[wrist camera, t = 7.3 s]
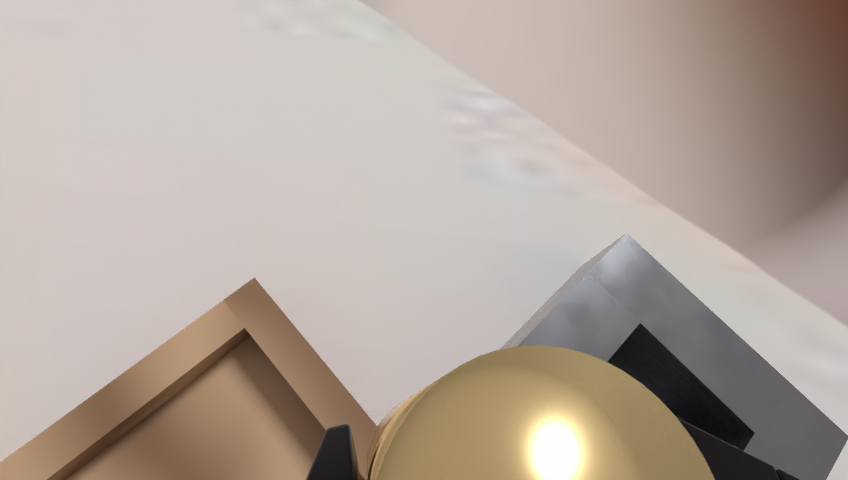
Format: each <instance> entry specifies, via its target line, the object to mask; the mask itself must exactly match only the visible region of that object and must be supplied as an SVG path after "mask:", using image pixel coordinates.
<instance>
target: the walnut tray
mask: <svg viewBox="0 0 848 480" xmlns="http://www.w3.org/2000/svg"><path fill="white" fill-rule="evenodd" d="M344 423H349V424H350V426H351V430H352V435H353V440H354V445H355V450H356V455H357V461H358V467H359V474H360V480H366V469H367V455H368V450H369V446H370V442H371V440H372V437H373V434H374V433H375V431H376V429H377V426H376V425H375V423H374V422H373V421H372V420H371V419H370V417H369V416H368V415H367V414H366V413H365V411H364V410H363V409H362V408H361V406H360V405H359V404H358V403H357V402H356V400H355V399H354V398H353V397H352V396H351V394H350V393H349V392H348V391H347V389H346V388H345V387H344V386H343V385H342V383H341V382H340V381H339V380H338V379H337V377H336V376H335V375H334V374H333V372H332V371H331V370H330V369H329V368H328V366H327V365H326V364H325V363H324V362H323V360H322V359H321V358H320V357H319V355H318V354H317V353H316V352H315V351H314V349H313V348H312V347H311V346H310V345H309V343H308V342H307V341H306V340H305V338H304V337H303V336H302V335H301V334H300V332H299V331H298V330H297V329H296V328H295V326H294V325H293V324H292V323H291V321H290V320H289V319H288V318H287V317H286V315H285V314H284V313H283V312H282V311H281V309H280V308H279V307H278V306H277V304H276V303H275V302H274V301H273V300H272V298H271V297H270V296H269V295H268V294H267V292H266V291H265V290H264V289H263V287H262V286H261V285H260V284H259V283H258V281H257V280H256V279H255V278H253V279H252V280H250V281H249V282H248V283H246V284H245V285H244V286H242V287H241V288H239V289H238V290H237V291H235V292H234V293H233V294H231V295H230V296H228V297H227V298H226V299H224V300H223V301H222V302H220V303H219V304H217V305H216V306H215V307H213V308H212V309H211V310H209V311H208V312H206V313H205V314H204V315H202V316H201V317H200V318H198V319H197V320H196V321H194V322H193V323H191V324H190V325H189V326H187V327H186V328H185V329H183V330H182V331H180V332H179V333H178V334H176V335H175V336H174V337H172V338H171V339H169V340H168V341H167V342H165V343H164V344H163V345H161V346H160V347H158V348H157V349H156V350H154V351H153V352H152V353H150V354H149V355H147V356H146V357H145V358H143V359H142V360H141V361H139V362H138V363H136V364H135V365H134V366H132V367H131V368H130V369H128V370H127V371H125V372H124V373H123V374H121V375H120V376H119V377H117V378H116V379H114V380H113V381H112V382H110V383H109V384H108V385H106V386H105V387H103V388H102V389H101V390H99V391H98V392H97V393H95V394H94V395H93V396H91V397H90V398H88V399H87V400H86V401H84V402H83V403H82V404H80V405H79V406H77V407H76V408H75V409H73V410H72V411H71V412H69V413H68V414H66V415H65V416H64V417H62V418H61V419H60V420H58V421H57V422H55V423H54V424H53V425H51V426H50V427H49V428H47V429H46V430H44V431H43V432H42V433H40V434H39V435H38V436H36V437H35V438H33V439H32V440H31V441H29V442H28V443H27V444H25V445H24V446H22V447H21V448H20V449H18V450H17V451H16V452H14V453H13V454H11V455H10V456H9V457H7V458H6V459H5V460H3V461H2V462H0V480H306V478H307V475H308V473H309V470H310V468H311V466H312V463H313V461H314V458H315V456H316V453H317V451H318V448H319V446H320V444H321V441H322V439H323V436H324V434H325V432H326V430H327V429H328V428H329V427H332V426H336V425H340V424H344Z"/></svg>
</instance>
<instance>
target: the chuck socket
mask: <svg viewBox="0 0 848 480" xmlns="http://www.w3.org/2000/svg"><path fill="white" fill-rule="evenodd" d="M532 345H544V346H554V347H563V348H567V349H571V350H575V351H579V352H583V353H586V354H588V355H591V356H594V357H596V358H599V359H602V360H604V361H606V362H608V363H609V364H611V365H613V366H615V367H617V368H619V369H621V370H623V371H624V372H626V373H627V374H628V375H630V376H631V377H633V378H634V379H636V380H637V381H639V382H640V383H642V384H643V385H644V386H645V387H646V388H647V389H649V390H650V391H651V392H652V393H653V394H654V395H655V396H657V397H658V398H659V399H660V400H661V401H662V402H663V403H664V404H665V405H666V406H667V408H668V409H669V410H670V411H671V412H672V413H673V414H674V415H675V416H676V417H677V418H679V419H681V420H683V421H685V422H686V423H688V424H690V425H692V426H694V427H696V428H698V429H700V430H702V431H704V432H706V433H708V434H710V435H712V436H714V437H716V438H718V439H720V440H722V441H724V442H726V443H728V444H730V445H732V446H734V447H736V448H738V449H740V450H742V451H744V452H746V453H748V454H750V455H752V456H754V457H756V458H758V459H760V460H762V461H764V462H766V463H768V464H770V465H772V466H773V467H774V468H775V470H776V469H781V470H783V471H785V472H787V473H789V474H791V475H793V476H795V477H797V478H799V479H801V480H826V479H827V477H828V475H829V473H830V471H831V469H832V468H833V466H834V464H835V462H836V460H837V458H838V456H839V454H840V453H841V451H842V449H843V447H844V445H845V443H846V441H847V440H848V436H847V435H846V434H845V433H844V432H843V431H842V430H841V429H840V428H839V427H838V426H837V425H835V424H834V423H833V422H832V421H831V420H830V419H829V418H828V417H827V416H826V415H825V414H823V413H822V412H821V411H820V410H819V409H818V408H817V407H816V406H815V405H814V404H813V403H811V402H810V401H809V400H808V399H807V398H806V397H805V396H804V395H803V394H802V393H801V392H799V391H798V390H797V389H796V388H795V387H794V386H793V385H792V384H791V383H790V382H789V381H787V380H786V379H785V378H784V377H783V376H782V375H781V374H780V373H779V372H778V371H777V370H775V369H774V368H773V367H772V366H771V365H770V364H769V363H768V362H767V361H766V360H765V359H763V358H762V357H761V356H760V355H759V354H758V353H757V352H756V351H755V350H754V349H752V348H751V347H750V346H749V345H748V344H747V343H746V342H745V341H744V340H743V339H742V338H740V337H739V336H738V335H737V334H736V333H735V332H734V331H733V330H732V329H731V328H730V327H728V326H727V325H726V324H725V323H724V322H723V321H722V320H721V319H720V318H719V317H718V316H716V315H715V314H714V313H713V312H712V311H711V310H710V309H709V308H708V307H707V306H706V305H704V304H703V303H702V302H701V301H700V300H699V299H698V298H697V297H696V296H695V295H694V294H692V293H691V292H690V291H689V290H688V289H687V288H686V287H685V286H684V285H683V284H682V283H680V282H679V281H678V280H677V279H676V278H675V277H674V276H673V275H672V274H671V273H670V272H668V271H667V270H666V269H665V268H664V267H663V266H662V265H661V264H660V263H659V262H658V261H656V260H655V259H654V258H653V257H652V256H651V255H650V254H649V253H648V252H647V251H646V250H644V249H643V248H642V247H641V246H640V245H639V244H638V243H637V242H636V241H635V240H634V239H632V238H631V237H630V236H629V235H628V234H627V233H626V234H625V235H623V236H622V237H621V238H619V239H618V240H617V241H615V242H614V243H612V244H611V245H610V246H608V247H607V248H606V249H604V250H603V251H601V252H600V253H599V254H597V255H596V256H595V257H593V258H592V259H591V260H589V261H588V262H586V263H585V264H584V265H583V266H582V267H581V268H580V269H579V270H578V271H577V272H576V273H575V274H574V275H573V276H572V277H571V278H570V279H569V280H568V281H567V282H566V283H565V284H564V285H563V286H562V287H561V288H560V289H559V290H558V291H557V292H556V293H555V294H554V295H553V296H552V297H551V298H550V299H549V300H548V301H547V302H546V303H545V304H544V305H543V306H542V307H541V308H540V309H539V310H538V311H537V312H536V313H535V314H534V315H533V316H532V317H531V319H530V320H529V321H528V322H527V323H526V324H525V325H524V326H523V327H522V328H521V329H520V330H519V331H518V332H517V333H516V334H515V335H514V336H513V337H512V338H511V339H510V340H509V341H508V342H507V343H506V344H505V345H504V346H503V347H502V348H501V349H506V348H511V347H517V346H532Z"/></svg>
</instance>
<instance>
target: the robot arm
mask: <svg viewBox="0 0 848 480" xmlns="http://www.w3.org/2000/svg"><path fill="white" fill-rule="evenodd" d="M677 419H678V420H679V421H680V423H681V424H682V425H683V426H684V428H685V429H686V430H687V432H688V433H689V434H690V436H691V437H692V439H693V440H694V442H695V444H696V445H697V447H698V448H699V450H700V452H701V453H702V455H703V457H704V458H705V460H706V462H707V464H708V466H709V468H710V470H711V472H712V474H713V476H714V478H715V480H801V479H799V478H797V477H795V476H793V475H791V474H789V473H787V472H785V471H783V470H781V469H776V470H775V468H774V467H773V466H772V465H770V464H768V463H766V462H764V461H762V460H760V459H758V458H756V457H754V456H752V455H750V454H748V453H746V452H744V451H742V450H740V449H738V448H736V447H734V446H732V445H730V444H728V443H726V442H724V441H722V440H720V439H718V438H716V437H714V436H712V435H710V434H708V433H706V432H704V431H702V430H700V429H698V428H696V427H694V426H692V425H690V424H688V423H686V422H685V421H683V420H681V419H679V418H677ZM306 480H360V474H359V467H358V461H357V455H356V450H355V445H354V440H353V435H352V430H351V426H350V424H349V423H344V424H340V425H336V426H332V427H329V428H328V429H327V430H326V432H325V434H324V436H323V439H322V441H321V444H320V446H319V448H318V451H317V453H316V456H315V458H314V461H313V463H312V466H311V468H310V470H309V473H308V475H307V478H306Z"/></svg>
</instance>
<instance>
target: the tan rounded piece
mask: <svg viewBox="0 0 848 480" xmlns="http://www.w3.org/2000/svg"><path fill="white" fill-rule="evenodd" d="M366 480H715V478H714V476H713V474H712V472H711V470H710V468H709V466H708V464H707V462H706V460H705V458H704V457H703V455H702V453H701V452H700V450H699V448H698V447H697V445H696V444H695V442H694V440H693V439H692V437H691V436H690V434H689V433H688V432H687V430H686V429H685V428H684V426H683V425H682V424H681V423H680V421H679V420H678V419H677V417H676V416H675V415H674V414H673V413H672V412H671V411H670V410H669V409H668V408H667V406H666V405H665V404H664V403H663V402H662V401H661V400H660V399H659V398H658V397H657V396H655V395H654V394H653V393H652V392H651V391H650V390H649V389H647V388H646V387H645V386H644V385H643V384H642V383H640V382H639V381H637V380H636V379H634V378H633V377H631V376H630V375H628V374H627V373H626V372H624V371H623V370H621V369H619V368H617V367H615V366H613V365H611V364H609V363H608V362H606V361H604V360H602V359H599V358H596V357H594V356H591V355H588V354H586V353H583V352H579V351H575V350H571V349H567V348H563V347H554V346H544V345H532V346H517V347H511V348H506V349H500V350H497V351H494V352H491V353H488V354H485V355H482V356H479V357H477V358H475V359H473V360H471V361H469V362H467V363H465V364H463V365H461V366H459V367H458V368H456V369H454V370H453V371H451V372H450V373H448V374H446V375H445V376H443V377H442V378H440V379H439V380H437V381H435V382H434V383H432V384H431V385H429V386H427V387H426V388H424V389H423V390H421V391H419V392H418V393H416V394H415V395H413V396H412V397H410V398H408V399H407V400H405V401H404V402H402V403H400V404H399V405H398V406H396V407H395V408H393V409H392V410H391V411H390V412H389V413H388V414H387V415H386V416H385V417H384V418H383V419H382V421H381V422H380V424H379V425H378V427H377V429H376V431H375V433H374V434H373V437H372V440H371V442H370V446H369V450H368V455H367V469H366Z"/></svg>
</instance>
